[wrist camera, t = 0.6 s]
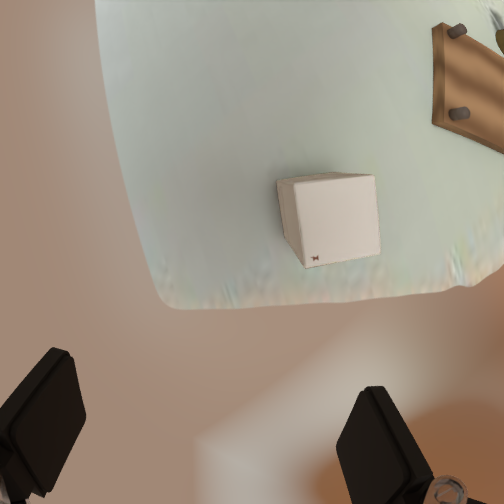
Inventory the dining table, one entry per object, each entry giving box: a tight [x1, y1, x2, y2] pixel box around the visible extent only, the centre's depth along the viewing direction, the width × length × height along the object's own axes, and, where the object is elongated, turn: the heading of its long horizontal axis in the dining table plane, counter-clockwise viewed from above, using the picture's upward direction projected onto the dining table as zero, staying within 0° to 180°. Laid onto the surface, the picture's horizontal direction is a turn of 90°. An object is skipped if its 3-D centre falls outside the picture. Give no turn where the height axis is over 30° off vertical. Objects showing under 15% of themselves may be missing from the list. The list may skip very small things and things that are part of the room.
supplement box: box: [276, 172, 381, 269], centre depth 31 cm, size 7×7×13 cm
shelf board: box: [432, 22, 504, 154], centre depth 30 cm, size 16×16×6 cm
